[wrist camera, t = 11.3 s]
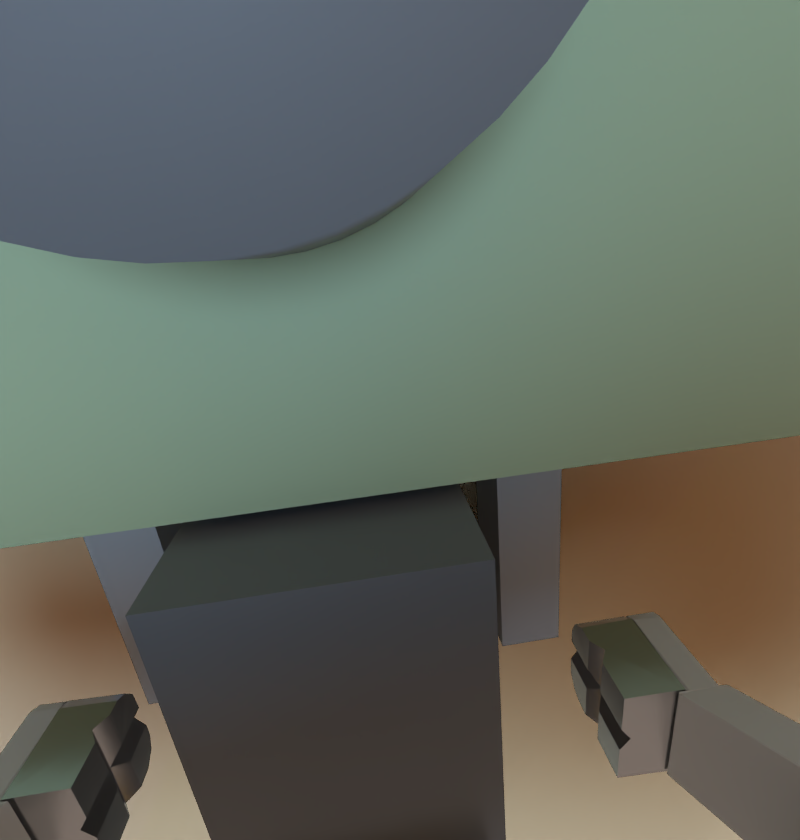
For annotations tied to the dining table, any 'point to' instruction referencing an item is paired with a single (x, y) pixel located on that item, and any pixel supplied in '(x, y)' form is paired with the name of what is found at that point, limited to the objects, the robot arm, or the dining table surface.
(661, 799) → the dining table surface
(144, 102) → the green piece
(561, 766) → the dining table surface
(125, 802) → the robot arm
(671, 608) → the dining table surface
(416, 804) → the grey block yellow strip
